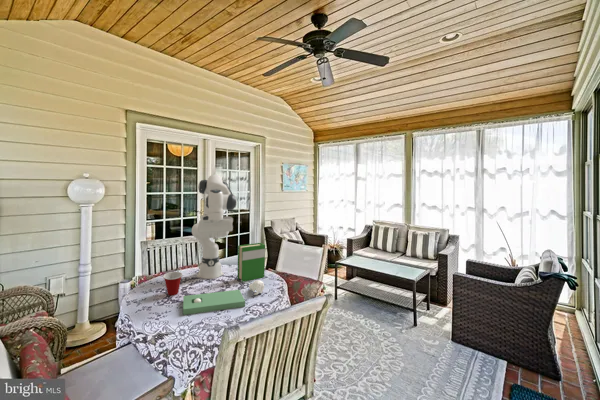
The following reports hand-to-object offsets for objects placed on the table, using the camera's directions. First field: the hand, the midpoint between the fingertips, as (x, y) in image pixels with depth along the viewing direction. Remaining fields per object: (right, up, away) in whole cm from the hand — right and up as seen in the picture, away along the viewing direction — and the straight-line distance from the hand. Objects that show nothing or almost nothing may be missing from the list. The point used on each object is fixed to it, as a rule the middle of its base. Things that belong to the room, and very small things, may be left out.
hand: (215, 239), depth 175 cm
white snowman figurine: (+23, -35, +7) cm, 42 cm away
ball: (-6, -33, -15) cm, 36 cm away
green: (+2, -35, -11) cm, 37 cm away
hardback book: (+16, -33, +33) cm, 49 cm away
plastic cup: (-26, -34, +1) cm, 43 cm away
